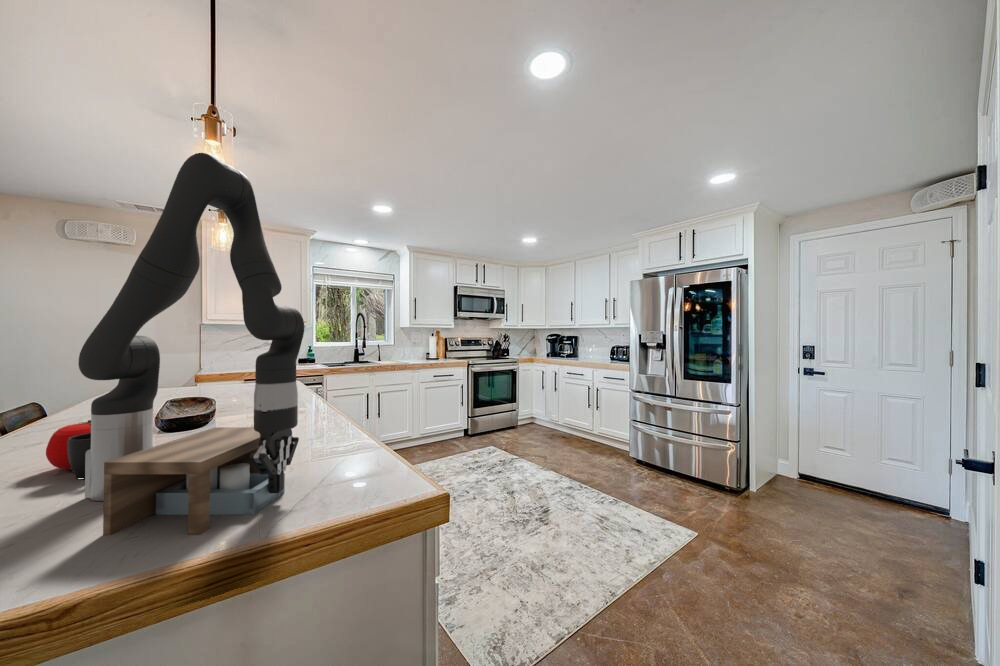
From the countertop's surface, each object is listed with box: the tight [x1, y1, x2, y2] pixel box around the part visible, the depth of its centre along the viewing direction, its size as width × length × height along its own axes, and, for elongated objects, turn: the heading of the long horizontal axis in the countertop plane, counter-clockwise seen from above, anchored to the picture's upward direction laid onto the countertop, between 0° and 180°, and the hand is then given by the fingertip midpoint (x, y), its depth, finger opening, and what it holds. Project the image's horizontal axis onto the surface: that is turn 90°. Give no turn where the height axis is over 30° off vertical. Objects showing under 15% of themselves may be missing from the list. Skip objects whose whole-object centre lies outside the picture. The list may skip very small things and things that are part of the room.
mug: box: [67, 433, 91, 479], centre depth 87 cm, size 8×12×10 cm
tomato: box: [45, 419, 91, 470], centre depth 94 cm, size 13×14×12 cm
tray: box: [155, 463, 286, 516], centre depth 73 cm, size 18×10×7 cm, turn 91°
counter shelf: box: [102, 426, 260, 536], centre depth 73 cm, size 16×24×12 cm, turn 1°
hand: (276, 491), depth 73 cm, fingers closed
